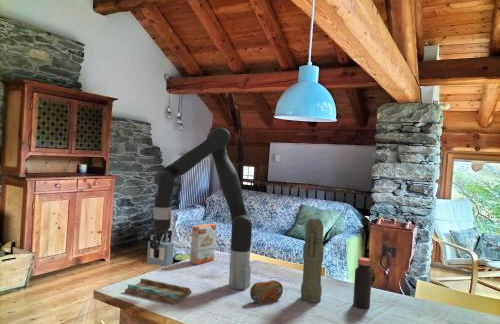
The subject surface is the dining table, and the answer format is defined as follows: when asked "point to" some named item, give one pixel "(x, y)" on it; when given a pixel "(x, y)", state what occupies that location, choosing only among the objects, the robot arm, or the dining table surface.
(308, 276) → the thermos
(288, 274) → the dining table surface
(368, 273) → the bottle
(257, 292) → the tin
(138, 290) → the brown flat frame
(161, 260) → the carton
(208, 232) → the cracker box
